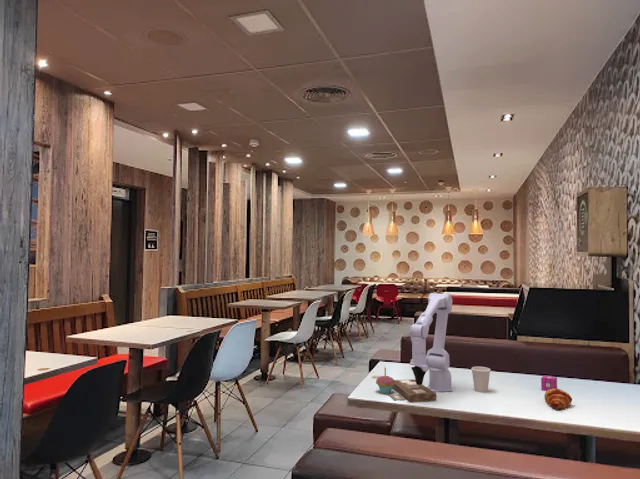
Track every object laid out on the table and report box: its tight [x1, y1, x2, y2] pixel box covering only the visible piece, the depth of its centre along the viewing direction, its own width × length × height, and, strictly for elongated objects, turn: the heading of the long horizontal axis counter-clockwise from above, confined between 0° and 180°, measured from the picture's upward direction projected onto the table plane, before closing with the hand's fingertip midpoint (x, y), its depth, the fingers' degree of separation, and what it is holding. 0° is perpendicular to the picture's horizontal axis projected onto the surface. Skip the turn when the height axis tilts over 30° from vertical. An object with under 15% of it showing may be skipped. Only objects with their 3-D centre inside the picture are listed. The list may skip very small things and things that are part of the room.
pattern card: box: [387, 393, 407, 402], centre depth 197 cm, size 5×8×1 cm, turn 11°
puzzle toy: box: [540, 375, 558, 392], centre depth 211 cm, size 6×6×6 cm
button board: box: [392, 378, 437, 403], centre depth 204 cm, size 12×24×3 cm, turn 11°
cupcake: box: [375, 367, 395, 395], centre depth 206 cm, size 9×8×12 cm
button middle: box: [406, 382, 419, 388], centre depth 204 cm, size 4×4×3 cm
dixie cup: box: [470, 366, 491, 393], centre depth 209 cm, size 8×8×10 cm
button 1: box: [398, 379, 410, 384], centre depth 212 cm, size 4×4×3 cm
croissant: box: [543, 388, 573, 410], centre depth 190 cm, size 21×10×8 cm, turn 152°
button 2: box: [412, 389, 426, 394], centre depth 196 cm, size 4×4×3 cm
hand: (419, 384), depth 196 cm, fingers closed
